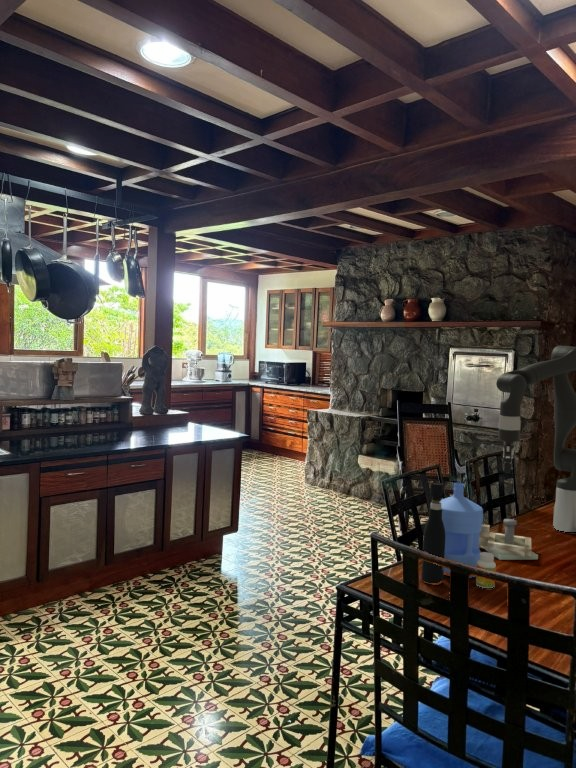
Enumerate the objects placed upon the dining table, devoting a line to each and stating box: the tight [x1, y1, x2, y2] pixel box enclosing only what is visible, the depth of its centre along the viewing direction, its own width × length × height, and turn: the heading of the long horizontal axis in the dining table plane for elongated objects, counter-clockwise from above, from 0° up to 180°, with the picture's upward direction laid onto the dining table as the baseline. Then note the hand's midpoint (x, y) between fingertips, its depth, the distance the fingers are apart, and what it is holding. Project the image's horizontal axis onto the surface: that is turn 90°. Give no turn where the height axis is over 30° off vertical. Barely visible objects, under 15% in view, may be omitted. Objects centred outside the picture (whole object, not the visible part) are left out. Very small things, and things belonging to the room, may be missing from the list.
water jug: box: [440, 482, 484, 579], centre depth 187 cm, size 16×16×28 cm
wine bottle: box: [420, 481, 445, 583], centre depth 177 cm, size 6×6×30 cm
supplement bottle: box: [475, 551, 497, 589], centre depth 175 cm, size 5×5×10 cm
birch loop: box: [479, 523, 532, 558], centre depth 208 cm, size 18×14×7 cm
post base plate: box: [480, 518, 539, 561], centre depth 207 cm, size 14×14×12 cm
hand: (507, 471), depth 218 cm, fingers open, 8 cm apart
